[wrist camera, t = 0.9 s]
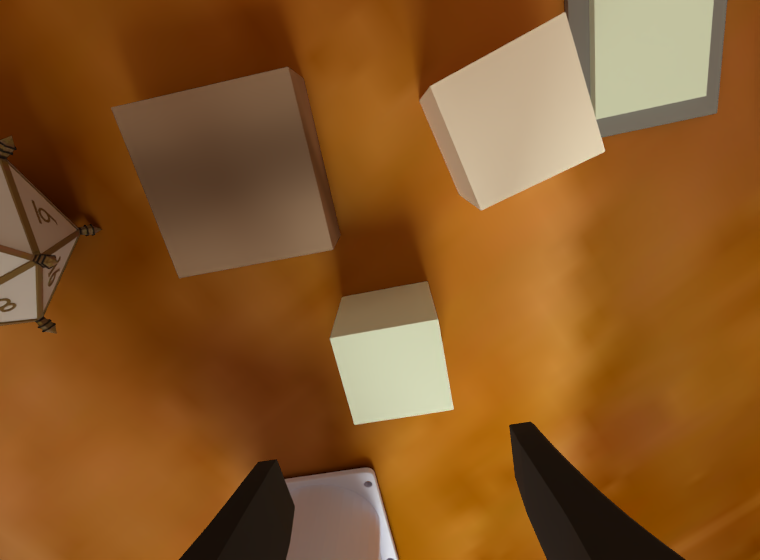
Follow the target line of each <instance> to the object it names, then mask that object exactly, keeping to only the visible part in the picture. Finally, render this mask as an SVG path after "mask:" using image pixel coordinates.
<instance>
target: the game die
mask: <svg viewBox="0 0 760 560" xmlns="http://www.w3.org/2000/svg"><path fill="white" fill-rule="evenodd" d="M13 150H16V147H15V146H14V143H13V139H12V136H9V137H7V138H4V139H2V140H0V326H2V325H11V324H19V323H28V322H37V324H38V325H39V327H38V328H41V329H42V330H43V331H42V332H50V333H56V334H57V332H56V327H55V325H56V324H55V323H52V322H51V321H52V320H50V319H49V320H48V319H46V318H44V314H45V312H46V310H47V307H48V305H49V303H50V301H51V299H52V296H53V294H54V292H55V290H56V287H57V285H58V283H59V281H60V279H61V276H62V274H63V272H64V270H65V268H66V265H67V263H68V261H69V259H70V256H71V254H72V252H73V250H74V248H75V245H76V243H77V241H78V239H79V236H80V235H81V234H82V235H86V236H88V235H95V233H97V232H98V231H100V230H102V229H100V228H98V227H95V226H92V224H90V225H88V226H86V225H84V226H83V227H80V228H79V227H77V226H76V225H75V224H74V223H73V222H72V221H71V220H70V219H68V218H67V217H66V216H65V215H64V214H63V213H62V212H61V211H60V210H59V209H58V208H57V207H56V206H55V205H54V204H53V203H52V202H51V201H50V200H49V199H48V198H47V197H46V196H45V195H44V194H43V193H41V192H40V191H39V190H38V189H37V188H36V187H35V186H34V185H33V184H32V183H31V182H30V181H29V180H28V179H27V178H26V177H25V176H24V175H23V174H22V173H21V172H20V171H19V170H18V169H17V168H16V167H14V166H13V165H12V164H11V163H10V162H9V161H8V160H7V157H8V156H9V155H13V153H12V152H13Z"/></svg>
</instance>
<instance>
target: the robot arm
mask: <svg viewBox="0 0 760 560" xmlns="http://www.w3.org/2000/svg"><path fill="white" fill-rule="evenodd" d="M509 427H510V436H511V444H512V453H513V462H514V471H515V478H516V481H517V484H518V487H519V490H520V494H521V497H522V500H523V503H524V506H525V509H526V512H527V514H528V517H529V519H530V521H531V524H532V526H533V528H534V531H535V533H536V535H537V538H538V540H539V542H540V545H541V547H542V549H543V551H544V554H545V556H546V558H547V560H685V559H684V558H683V557H681V556H680V555H679V554H677V553H676V552H675V551H673V550H672V549H670V548H669V547H668V546H666V545H665V544H664V543H662V542H661V541H660V540H658V539H657V538H656V537H655V536H653V535H652V534H651V533H649V532H648V531H647V530H645V529H644V528H643V527H642V526H640V525H639V524H638V523H637V522H635V521H634V520H633V519H632V518H631V517H629V516H628V515H627V514H626V513H625V512H623V511H622V510H621V509H620V508H619V507H617V506H616V505H615V504H614V503H613V502H612V501H611V500H609V499H608V498H607V497H606V496H605V495H604V494H603V493H601V492H600V491H599V490H598V489H597V488H596V487H595V486H594V485H593V484H592V483H590V482H589V481H588V480H587V479H586V478H585V477H584V476H583V475H582V474H581V473H580V472H579V471H578V470H577V469H576V468H575V467H574V466H573V465H572V464H571V463H570V462H569V461H568V460H567V459H566V458H565V457H564V456H563V455H562V454H561V453H560V452H559V451H558V450H557V449H556V448H555V447H554V446H553V445H552V444H551V443H550V442H549V441H548V439H547V438H546V437H545V436H544V435H543V434H542V433H541V432H540V431H539V429H538V428H537V427H536V426H535V425H534V424H533V423H531V422H525V423H519V424H512V425H509ZM366 481H370V482H366ZM179 560H399V559H398V555H397V552H396V548H395V544H394V541H393V537H392V533H391V530H390V526H389V523H388V519H387V515H386V512H385V508H384V505H383V501H382V497H381V494H380V490H379V487H378V483H377V479H376V476H375V472H374V470H372V469H371V468H367V467H365V468H358V469H351V470H344V471H337V472H330V473H323V474H316V475H309V476H302V477H295V478H288V479H284V477H283V474H282V472H281V469H280V466H279V464H278V461H277V459H276V460H269V461H262V462H258V463H257V464H256V466H255V467H254V468H253V469H252V471H251V472H250V473H249V474H248V476H247V477H246V478H245V479H244V481H243V482H242V483H241V485H240V486H239V487H238V489H237V490H236V491H235V492H234V494H233V495H232V496H231V498H230V499H229V500H228V501H227V503H226V504H225V505H224V506H223V508H222V509H221V510H220V511H219V513H218V514H217V515H216V516H215V518H214V519H213V520H212V521H211V523H210V524H209V525H208V526H207V528H206V529H205V530H204V531H203V532H202V533H201V535H200V536H199V537H198V538H197V539H196V540H195V542H194V543H193V544H192V545H191V546H190V547H189V549H188V550H187V551H186V552H185V553H184V554H183V556H182V557H181V558H180V559H179Z"/></svg>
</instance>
